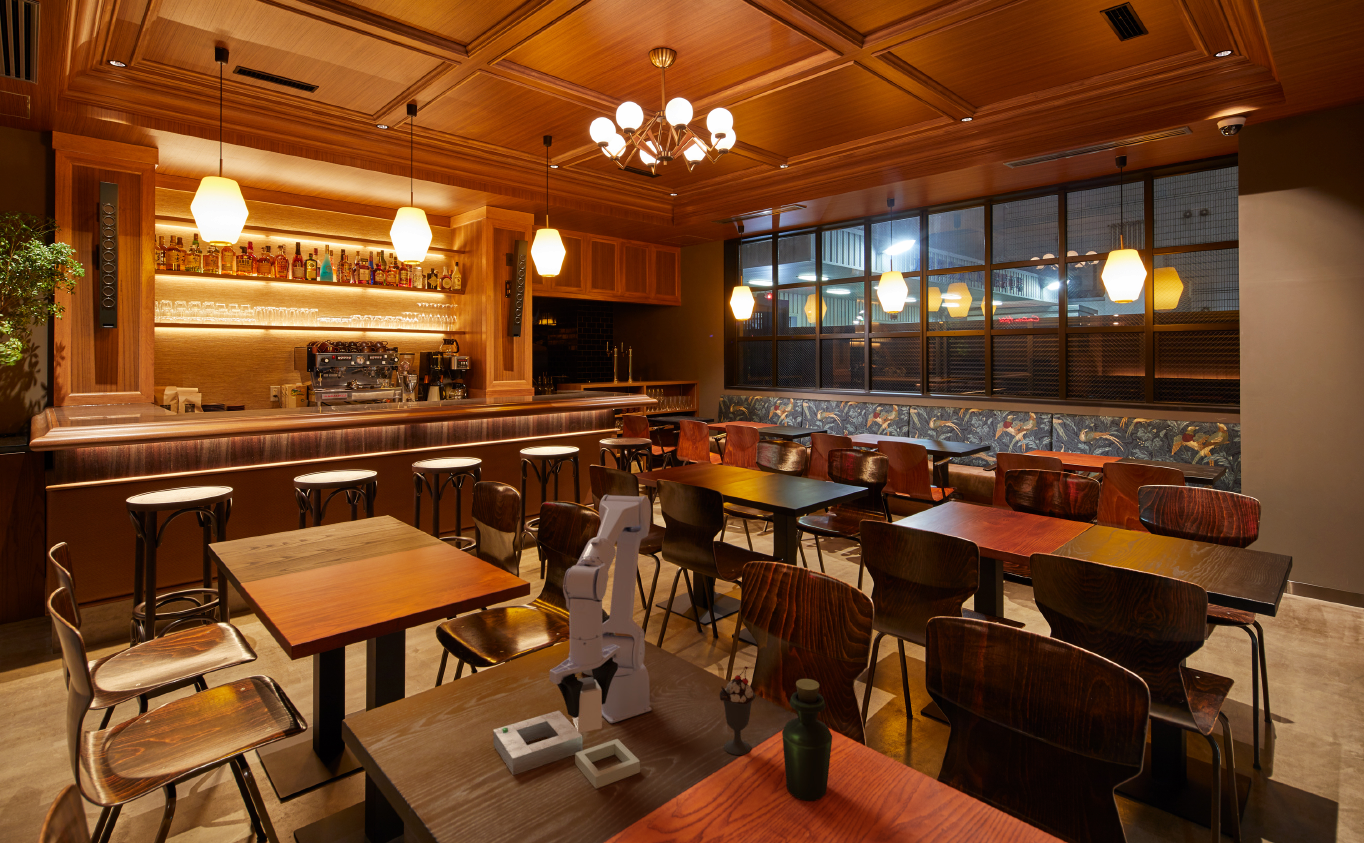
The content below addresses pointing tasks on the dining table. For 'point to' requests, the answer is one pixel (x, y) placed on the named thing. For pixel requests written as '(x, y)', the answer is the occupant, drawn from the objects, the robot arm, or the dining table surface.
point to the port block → (527, 757)
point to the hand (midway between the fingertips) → (587, 708)
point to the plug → (589, 706)
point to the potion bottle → (807, 744)
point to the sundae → (737, 712)
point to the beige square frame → (608, 775)
